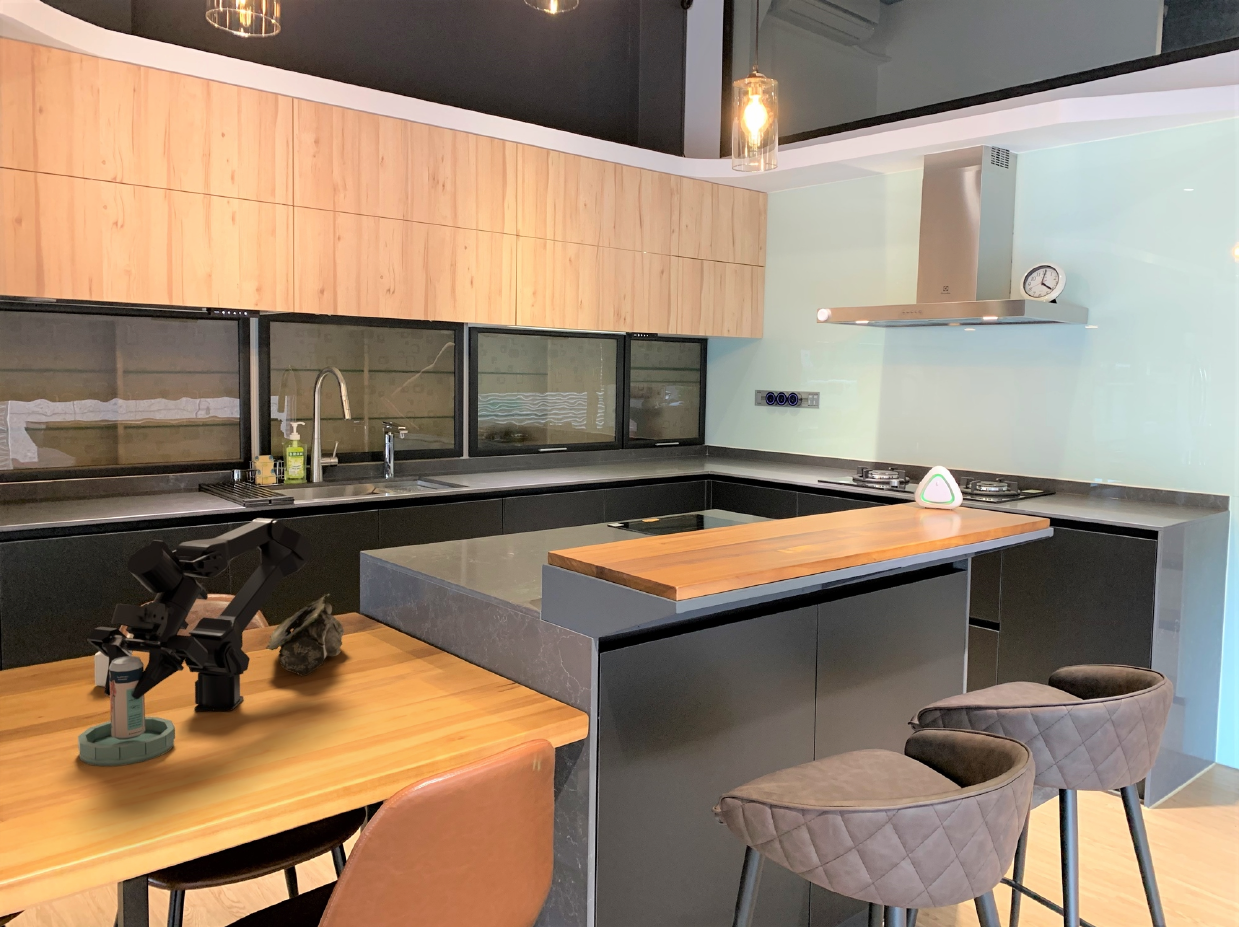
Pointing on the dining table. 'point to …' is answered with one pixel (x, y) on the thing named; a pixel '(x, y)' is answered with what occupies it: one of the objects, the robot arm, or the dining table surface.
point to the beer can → (126, 698)
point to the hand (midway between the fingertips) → (120, 696)
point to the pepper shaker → (101, 668)
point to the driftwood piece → (308, 637)
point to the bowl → (125, 744)
